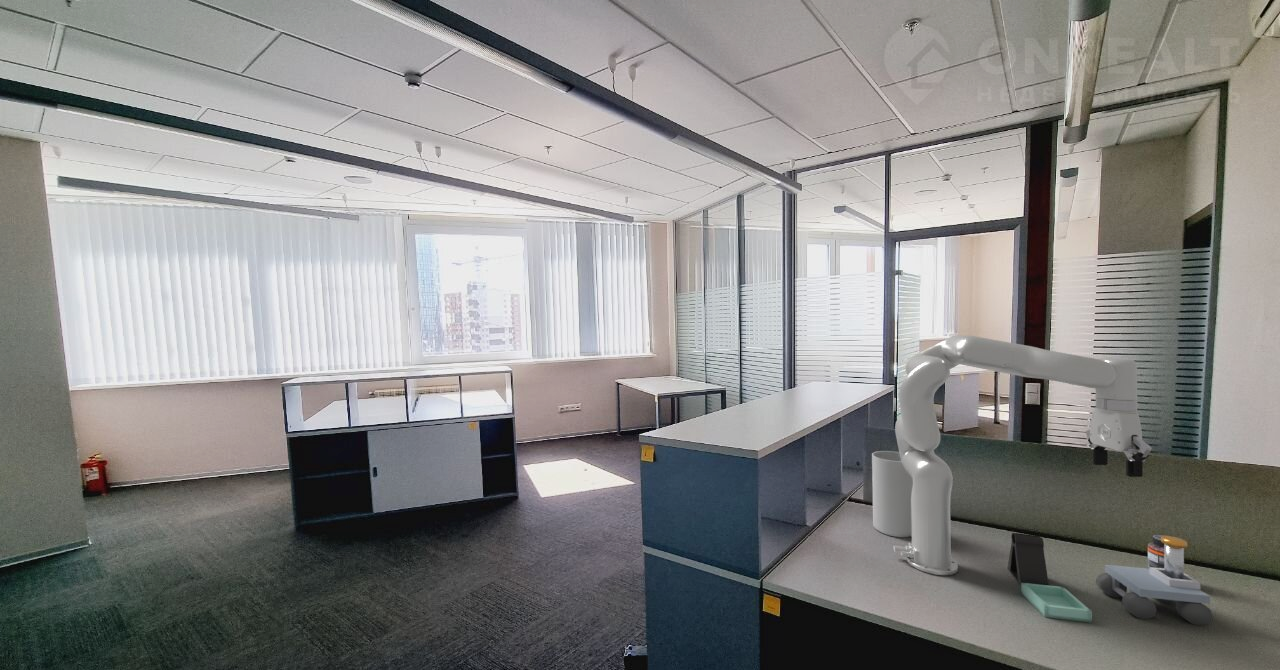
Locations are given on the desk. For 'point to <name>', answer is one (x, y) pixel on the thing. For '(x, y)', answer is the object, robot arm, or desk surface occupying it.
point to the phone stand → (1028, 559)
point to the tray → (1056, 602)
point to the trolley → (1155, 592)
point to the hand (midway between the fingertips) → (1116, 470)
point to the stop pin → (1174, 556)
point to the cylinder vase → (891, 494)
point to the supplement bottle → (1156, 553)
